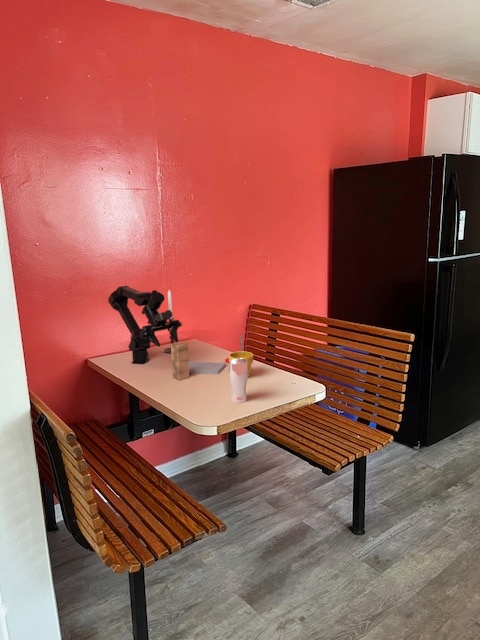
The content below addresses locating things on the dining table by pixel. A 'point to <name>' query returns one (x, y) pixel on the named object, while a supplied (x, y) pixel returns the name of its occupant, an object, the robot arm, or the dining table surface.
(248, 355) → the plant pot
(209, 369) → the board
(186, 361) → the walnut block
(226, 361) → the tow hook
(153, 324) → the robot arm
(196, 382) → the dining table surface
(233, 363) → the beer glass
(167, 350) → the candlestick
